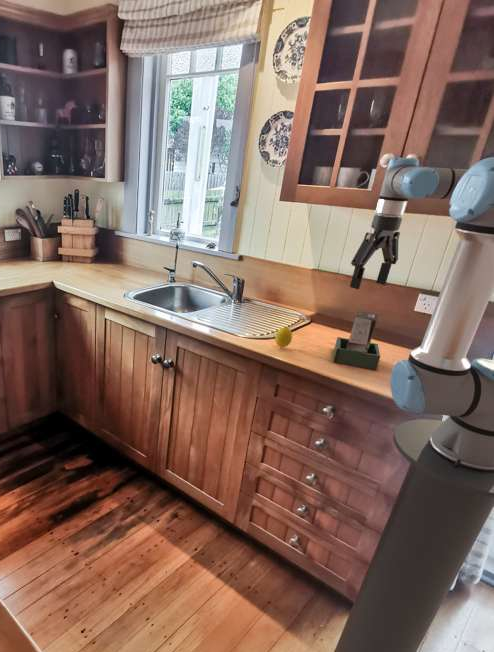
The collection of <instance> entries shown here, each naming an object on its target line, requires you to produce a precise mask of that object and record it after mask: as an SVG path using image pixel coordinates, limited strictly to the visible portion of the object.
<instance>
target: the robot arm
mask: <svg viewBox="0 0 494 652" xmlns="http://www.w3.org/2000/svg"><path fill="white" fill-rule="evenodd" d="M409 199H415V200H416V199H417V200H419V199H420V200H421V199H432V200H434V199H435V200H449V207H450V208H449V209H448V212H449V216H450V217H451V219H452V220H454V221H455V222H456V223H455V226H454V231H455V232H456V234H457V236H458V238H459V240H458V242H457V245H456V248H455V250H454V254H453V257H452V259H451V262H450V265H449V267H448V271H447V273H446V274H445V279H444V281H443V284H442V287H441V289H440V292H439V295H438V297H437V300H436V304H435V306H434V309H433V312H432V314H431V317H430V320H429V321H428V325H427V328H426V331H425V333H424V336H423V338H422V341H421V344H420V345H419V346H417V347H415V348H413V349H411V350H410V353H409V355H408V358H407V360H406V359H403V360H398V361H397V362H396V363H395V364H394V365H393V367H392V369H391V373H390V380H389V381H390V383H389V384H390V392H391V393H390V394H391V396H392V400H393V401H394V403H395V405H396V406H397V407H398V408H399V409H400V410H402V411H405V412H410V413H416V414H418V415H421V414H426V415H438V416H448V417H447V418H446V419H445V420H443V421H444V422H443V423H442V424H441V425H440V426H439V427H438V428H437V429H436V430H435V431H434V432H433V434H432V435H431V437H430V440H429V445H430V447H431V448H432V449H433V451H434V452H436V453H437V454H438V455H439V456H441V457H442V458H444V459H446V460H447V461H449V462H451V463H453V464H454V467H457V468H458V467H459V466H461V467H463V468H467V469H470V470H474V471H480V472H494V360H492V359H487V358H480V357H479V358H474V359H473V360H472V361H471V362H470V361H469V359H468V358H467V354H468V352H469V350H470V347H471V345H472V342H473V341H474V337H475V335H476V333H477V331H478V328H479V326H480V323H481V321H482V318H483V316H484V314H485V311H486V309H487V307H488V304H489V302H490V299H491V296H492V295H493V293H494V156H491V157H486V158H483V159H481V160H479V161H477V162H475V164H473V165H472V166H471V167H470V168H469V169H467V168H465V169H464V168H448V167H447V168H446V167H429V166H420V159H419V158H414V157H395V156H394V157H392V158H391V159H390V160H389V162H388V165H387V168H386V170H385V174H384V178H383V181H382V185H381V189H380V193H379V197H378V200H377V203H376V207H375V211H374V212H375V214H374V215H373V218H372V221H371V224H370V227H371V228H372V229H373V232H368V231H367V232H365V235H364V237H363V240H362V242H361V243H360V246H359V248H358V249H357V251H356V253H355V255H354V256H353V258H352V260H351V262H350V265H351V266H353V267H354V270H353V273H352V277H351V281H350V285H349V288H351V289H355V290H360V288H361V284H362V281H363V276H364V273H365V269H366V267H365V266H366V264H367V263H368V261H369V260H370V259H371V257H372V256H373V255H374V254H375V252H376V251H378V250H379V249H381V252H382V257H383V261H384V262H381V266H380V268H379V272H378V275H377V278H376V282H375V283H376V284H379V285H382V286H386V284H387V281H388V277H389V274H390V270H391V268H392V266H393V265H396V264H397V262H398V260H399V239H400V235H401V232H400V231H399V230H400V227H401V224H402V222H403V221H402V220H403V218H402V216H404V215H405V211H406V207H407V205H408V202H409Z"/></svg>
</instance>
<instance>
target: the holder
mask: <svg viewBox="0 0 494 652" xmlns="http://www.w3.org/2000/svg"><path fill="white" fill-rule="evenodd" d="M348 341H349V338H345V337H341V336H340V337H339V336H337V337H336V341H335V344H334V348H333V363H337V364H342V365H346V366H353V367H357V368H362V369H366V370H367V369H368V370H372V371H377V368H378V365H379V362H380V359H381V353H380V348H379V344H378V343H374V342H370V345H369V348H368V351H367V353H364V352H359V351H353V350H348V349H346V348H347V345H348Z"/></svg>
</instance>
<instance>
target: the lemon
mask: <svg viewBox="0 0 494 652" xmlns="http://www.w3.org/2000/svg"><path fill="white" fill-rule="evenodd" d="M274 338H275V339H274V341H275V343H276V345H277V346H278V347H279V348H280V349H283V348H285V347H289V345H290V344H291V342H292V340H293V333H292V330H291V329H290V328H288V326H284V327H281V328H279V329H278V330H277V332H276V334H275V337H274Z"/></svg>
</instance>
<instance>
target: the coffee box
mask: <svg viewBox="0 0 494 652" xmlns="http://www.w3.org/2000/svg"><path fill="white" fill-rule="evenodd" d="M378 318H379V313H376V312H370V311H363V310H358V311H357V312H356V315H355V318H354V321H353V324H352V328H351V331H350V335H349V338H348V339H349V341H348V345H347V348H346V349H348V350H353V351H359V352H364V353H367V351H368V348H369V345H370V343H372V339H373V335H374V333H375V330H376V326H377V322H378Z"/></svg>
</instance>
